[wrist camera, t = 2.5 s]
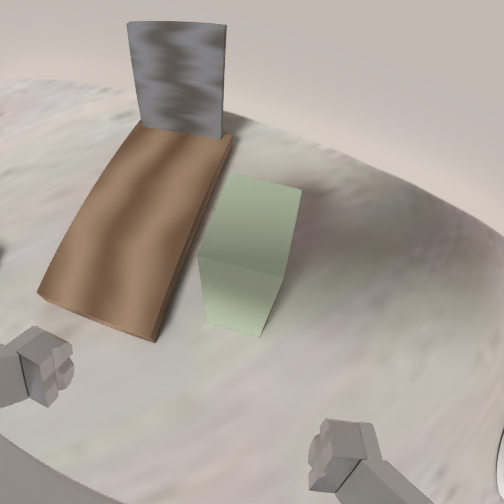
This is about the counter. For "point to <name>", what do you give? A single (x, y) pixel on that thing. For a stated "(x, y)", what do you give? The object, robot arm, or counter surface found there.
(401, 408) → the counter surface
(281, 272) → the sage green box
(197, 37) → the bookend
